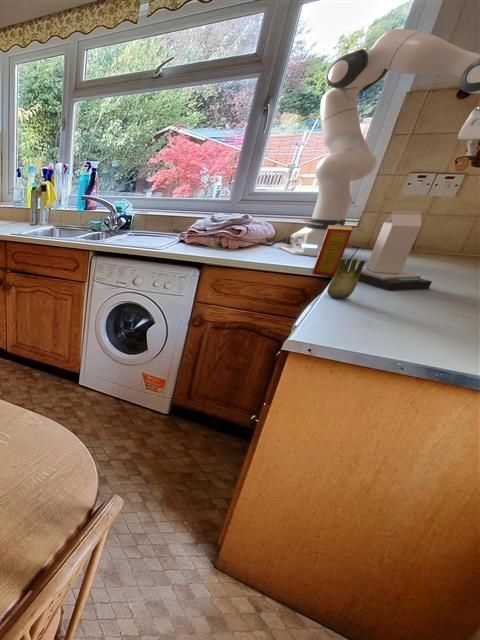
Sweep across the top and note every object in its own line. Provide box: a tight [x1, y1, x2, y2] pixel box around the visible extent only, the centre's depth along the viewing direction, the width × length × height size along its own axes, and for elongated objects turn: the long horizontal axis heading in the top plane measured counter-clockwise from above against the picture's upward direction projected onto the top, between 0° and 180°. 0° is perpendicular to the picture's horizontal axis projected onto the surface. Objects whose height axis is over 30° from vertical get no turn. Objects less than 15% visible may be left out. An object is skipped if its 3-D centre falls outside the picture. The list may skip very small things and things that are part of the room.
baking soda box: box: [312, 225, 353, 277], centre depth 155 cm, size 10×6×16 cm
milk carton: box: [365, 210, 423, 273], centre depth 141 cm, size 7×7×19 cm
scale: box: [354, 267, 433, 291], centre depth 143 cm, size 16×13×3 cm
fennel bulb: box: [327, 257, 367, 300], centre depth 129 cm, size 6×5×12 cm
